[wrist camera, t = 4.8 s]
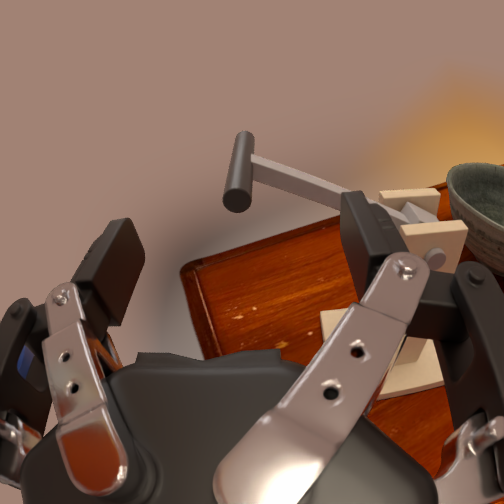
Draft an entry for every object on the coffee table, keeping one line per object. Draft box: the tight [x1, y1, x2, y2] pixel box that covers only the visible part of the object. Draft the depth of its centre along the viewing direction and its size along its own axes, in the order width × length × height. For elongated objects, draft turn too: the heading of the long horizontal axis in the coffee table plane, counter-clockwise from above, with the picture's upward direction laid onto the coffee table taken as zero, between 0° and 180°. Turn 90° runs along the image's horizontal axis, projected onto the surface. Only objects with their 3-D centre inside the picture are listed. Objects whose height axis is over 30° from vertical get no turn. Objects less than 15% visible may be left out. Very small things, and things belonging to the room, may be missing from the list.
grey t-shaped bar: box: [223, 131, 440, 232], centre depth 17 cm, size 14×8×2 cm, turn 89°
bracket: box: [320, 188, 468, 400], centre depth 22 cm, size 12×10×16 cm
